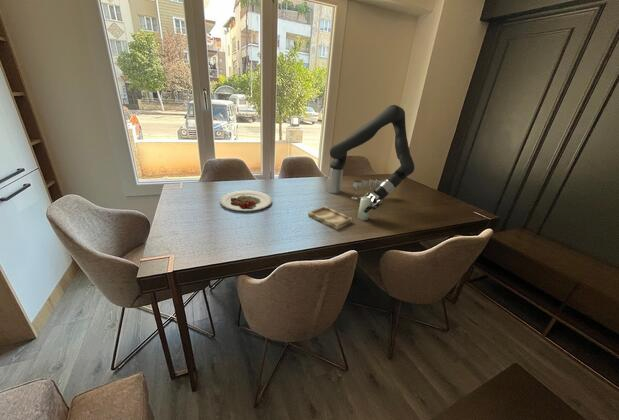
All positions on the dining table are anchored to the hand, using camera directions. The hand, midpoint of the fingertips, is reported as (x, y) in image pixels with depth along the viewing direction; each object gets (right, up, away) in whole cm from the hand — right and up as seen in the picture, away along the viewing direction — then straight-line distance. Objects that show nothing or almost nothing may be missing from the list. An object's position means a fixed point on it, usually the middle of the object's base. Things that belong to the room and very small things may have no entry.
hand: (361, 209), depth 143 cm
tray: (-18, -5, -2) cm, 19 cm away
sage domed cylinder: (+1, -5, +3) cm, 6 cm away
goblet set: (+12, +8, +34) cm, 37 cm away
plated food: (-68, +4, +9) cm, 68 cm away
